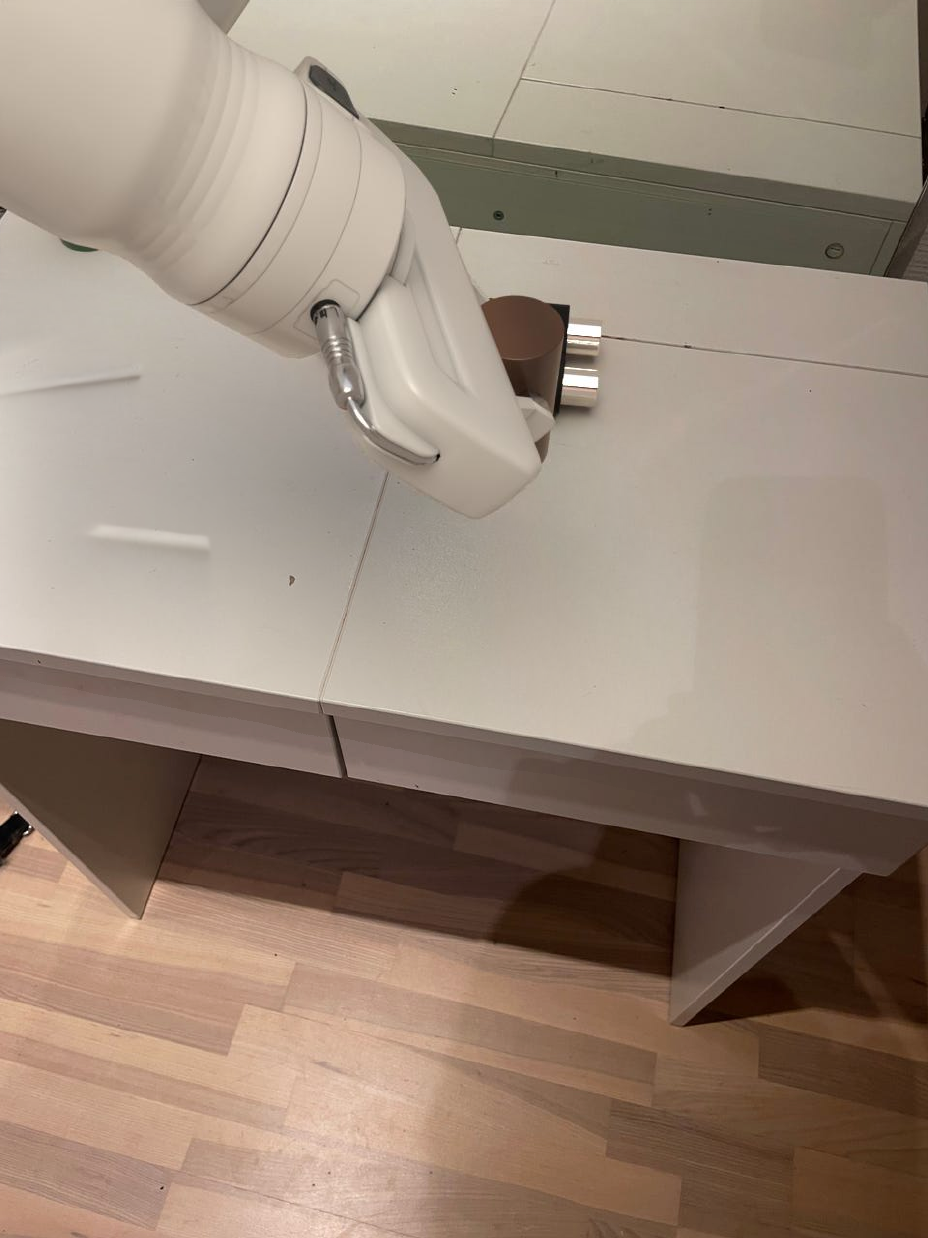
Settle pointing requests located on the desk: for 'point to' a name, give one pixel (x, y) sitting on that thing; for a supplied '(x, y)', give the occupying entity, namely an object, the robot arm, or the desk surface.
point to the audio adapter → (581, 340)
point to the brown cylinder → (528, 347)
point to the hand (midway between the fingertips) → (524, 381)
